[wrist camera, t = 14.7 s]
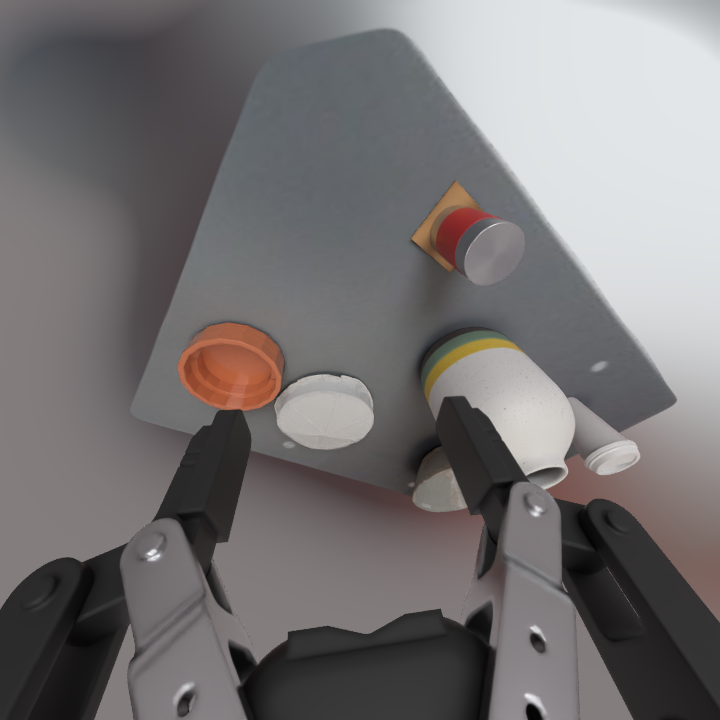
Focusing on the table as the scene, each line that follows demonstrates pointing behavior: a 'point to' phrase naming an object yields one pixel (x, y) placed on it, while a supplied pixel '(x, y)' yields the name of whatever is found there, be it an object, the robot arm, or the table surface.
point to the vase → (504, 397)
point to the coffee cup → (600, 442)
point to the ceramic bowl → (437, 484)
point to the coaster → (450, 198)
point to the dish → (232, 367)
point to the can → (477, 243)
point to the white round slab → (325, 411)
